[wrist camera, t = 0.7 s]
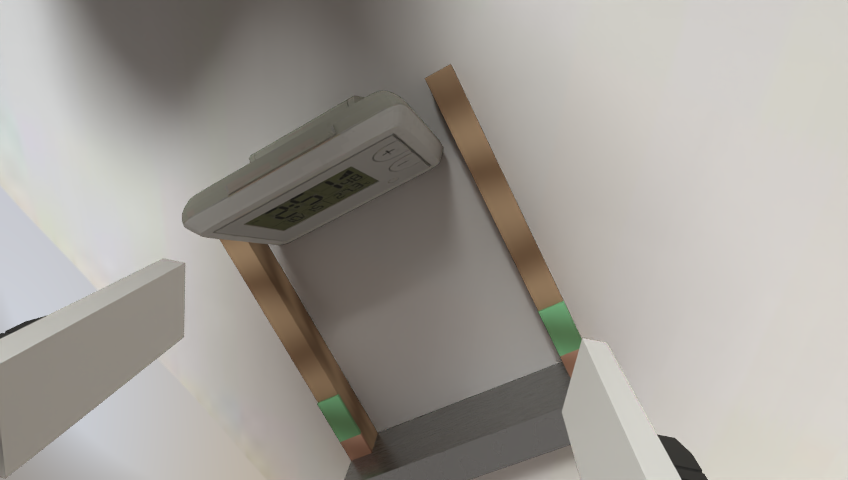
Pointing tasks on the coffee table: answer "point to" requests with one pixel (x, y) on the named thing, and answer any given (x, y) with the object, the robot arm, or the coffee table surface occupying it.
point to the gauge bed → (307, 341)
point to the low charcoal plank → (474, 433)
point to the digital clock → (317, 173)
